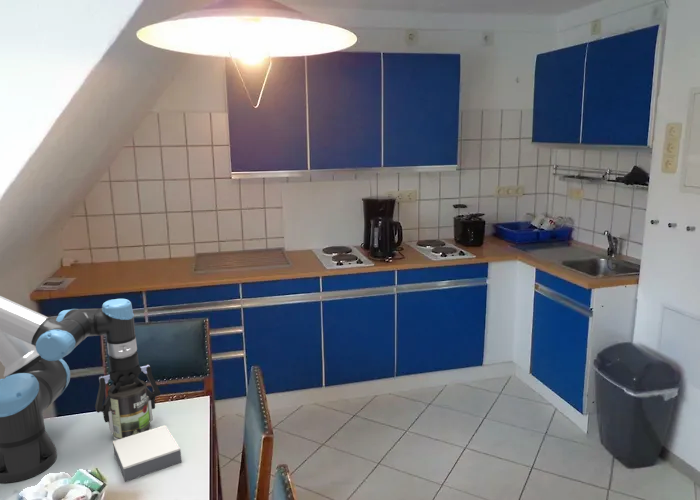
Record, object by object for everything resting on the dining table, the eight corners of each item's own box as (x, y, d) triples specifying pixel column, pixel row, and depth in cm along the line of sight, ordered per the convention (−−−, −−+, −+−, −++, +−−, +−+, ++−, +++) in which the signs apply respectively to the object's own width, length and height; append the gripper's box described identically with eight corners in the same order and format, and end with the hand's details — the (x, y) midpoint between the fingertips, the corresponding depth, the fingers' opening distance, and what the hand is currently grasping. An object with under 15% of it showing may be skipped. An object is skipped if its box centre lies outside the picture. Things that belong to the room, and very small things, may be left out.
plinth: (114, 454, 142) (112, 441, 141) (166, 437, 149) (165, 424, 149) (125, 481, 130) (123, 467, 130) (181, 461, 138) (180, 448, 137)
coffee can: (158, 424, 157) (153, 380, 154) (137, 443, 147) (132, 397, 144) (127, 421, 159) (122, 378, 156) (105, 440, 149) (99, 394, 146)
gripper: (80, 368, 138) (90, 443, 143) (167, 348, 151) (174, 418, 155) (76, 358, 144) (86, 431, 149) (160, 340, 157) (167, 407, 161)
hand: (131, 424), depth 152 cm, fingers closed on coffee can, 10 cm apart
